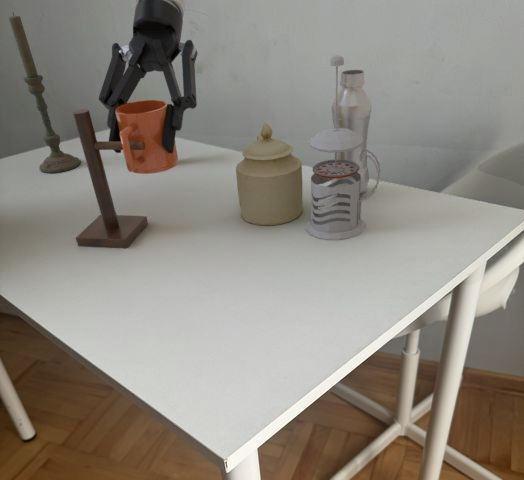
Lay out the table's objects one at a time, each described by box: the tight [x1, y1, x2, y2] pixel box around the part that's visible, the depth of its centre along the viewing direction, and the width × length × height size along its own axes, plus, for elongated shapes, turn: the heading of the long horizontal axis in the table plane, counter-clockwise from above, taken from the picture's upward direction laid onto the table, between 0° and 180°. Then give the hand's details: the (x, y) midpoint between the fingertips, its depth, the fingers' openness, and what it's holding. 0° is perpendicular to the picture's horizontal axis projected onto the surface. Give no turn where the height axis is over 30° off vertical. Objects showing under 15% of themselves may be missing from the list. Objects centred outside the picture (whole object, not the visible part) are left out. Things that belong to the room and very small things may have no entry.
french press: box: [305, 54, 382, 241], centre depth 80 cm, size 10×12×25 cm
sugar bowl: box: [235, 122, 304, 226], centre depth 91 cm, size 15×11×15 cm
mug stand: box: [72, 108, 149, 249], centre depth 85 cm, size 14×9×20 cm, turn 77°
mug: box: [115, 98, 179, 175], centre depth 84 cm, size 12×8×9 cm, turn 166°
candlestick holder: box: [8, 11, 81, 174], centre depth 113 cm, size 9×9×30 cm
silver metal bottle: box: [331, 69, 372, 195], centre depth 92 cm, size 6×7×20 cm
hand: (140, 148), depth 83 cm, fingers closed on mug, 8 cm apart
